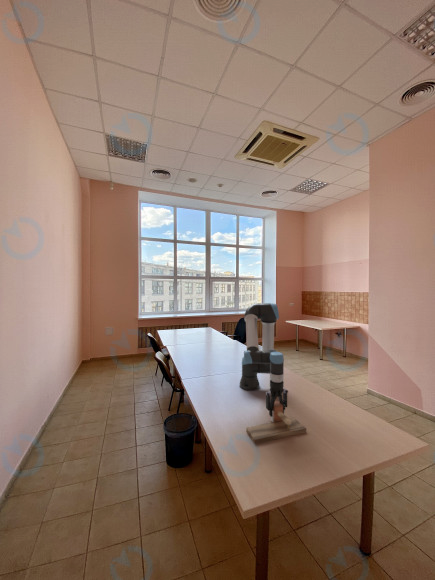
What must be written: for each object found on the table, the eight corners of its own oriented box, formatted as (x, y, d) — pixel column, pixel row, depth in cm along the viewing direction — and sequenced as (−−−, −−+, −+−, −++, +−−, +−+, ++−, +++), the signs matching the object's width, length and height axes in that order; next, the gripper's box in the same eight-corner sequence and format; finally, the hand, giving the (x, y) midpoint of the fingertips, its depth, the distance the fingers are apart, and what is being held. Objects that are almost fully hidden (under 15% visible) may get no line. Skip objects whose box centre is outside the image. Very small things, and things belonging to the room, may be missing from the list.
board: (246, 431, 124) (246, 427, 124) (294, 421, 132) (294, 417, 132) (254, 443, 114) (254, 439, 114) (306, 432, 123) (306, 428, 123)
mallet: (270, 419, 134) (270, 402, 134) (278, 417, 135) (278, 400, 135) (285, 435, 120) (285, 416, 119) (293, 433, 121) (293, 414, 121)
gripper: (265, 385, 125) (265, 427, 126) (294, 380, 131) (294, 421, 131) (259, 379, 132) (259, 419, 133) (286, 375, 138) (286, 414, 138)
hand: (276, 420), depth 132 cm, fingers closed on mallet, 5 cm apart
